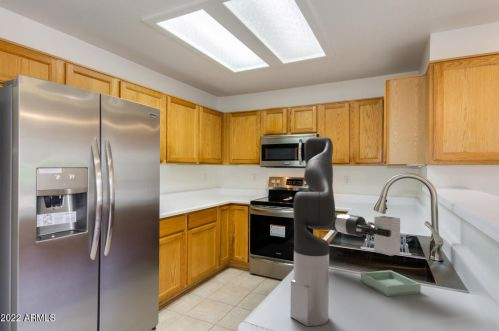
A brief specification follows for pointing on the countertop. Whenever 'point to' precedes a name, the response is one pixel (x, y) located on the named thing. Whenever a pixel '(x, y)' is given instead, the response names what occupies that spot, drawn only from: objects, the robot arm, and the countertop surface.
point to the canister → (387, 243)
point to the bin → (390, 283)
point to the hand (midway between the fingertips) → (394, 232)
